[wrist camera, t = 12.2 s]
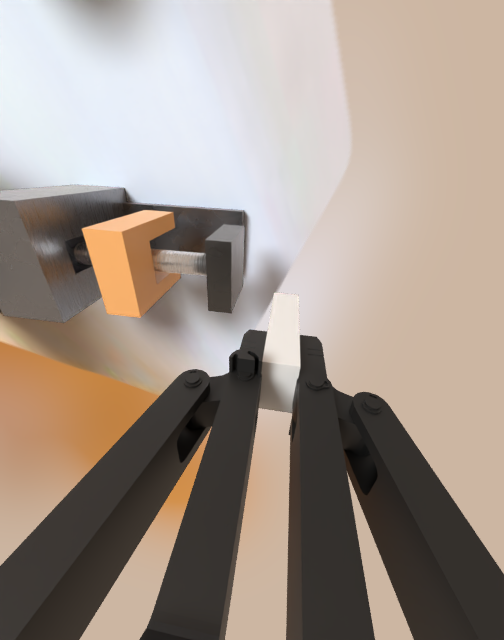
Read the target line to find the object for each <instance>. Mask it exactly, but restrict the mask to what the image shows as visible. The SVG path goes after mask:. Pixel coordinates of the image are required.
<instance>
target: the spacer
mask: <svg viewBox="0 0 504 640" xmlns="http://www.w3.org/2000/svg"><path fill="white" fill-rule="evenodd" d="M173 228H175V222H174V213H173V212H166V211H153V210H143V211H140V212H136V213H133V214H129V215H126V216H123V217H119V218H116V219H112V220H109V221H106V222H102V223H99V224H95V225H92V226H88V227H85V228H82V231H83V235H84V238H85V241H86V245H87V248H88V251H89V255H90V258H91V261H92V265H93V268H94V271H95V275H96V278H97V281H98V285H99V288H100V291H101V295H102V298H103V301H104V305H105V308H106V311H107V314H113V315H122V316H130V317H139V318H141V317H142V316H143V315H144V314H145V313H146V312H147V311H148V310H149V309H150V308H151V307H152V306H153V305H154V304H155V303H156V302H157V301H158V300H159V299H160V298H161V297H162V296H163V295H164V294H165V293H166V292H167V291H168V290H169V289H170V288H171V287H172V286H173V285H174V284H175V283H176V282H177V281H178V280H179V279H180V278H181V276H180V273H169V272H159V271H154V265H153V259H152V253H151V247H150V240H152V239H154V238H156V237H158V236H160V235H162V234H164V233H166V232H168V231H170V230H172V229H173Z"/></svg>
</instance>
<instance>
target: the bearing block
mask: <svg viewBox="0 0 504 640" xmlns="http://www.w3.org/2000/svg"><path fill="white" fill-rule="evenodd" d="M143 210H153V211H166V212H173V213H174V222H175V228H173V229H172V230H170V231H168V232H166V233H164V234H162V235H160V236H158V237H156V238H154V239H152V240H150V247H151V249H162V250H173V251H185V252H196V253H205V239H207V238H208V237H209V236H210V235H211V234H213V233H214V232H215V231H216V230H217V229H219V228H220V227H221V226H222V225H223V224H225V225H238V226H244V210H233V209H219V208H205V207H190V206H176V205H162V204H147V203H133V202H127V199H126V194H125V189H124V188H120V187H104V186H89V185H65V186H52V187H39V188H26V189H13V190H0V309H1V311H2V313H3V315H4V316H11V317H19V318H27V319H36V320H44V321H53V322H61V323H64V322H66V321H67V320H69V319H70V318H72V317H73V316H75V315H76V314H78V313H79V312H81V311H82V310H84V309H85V308H86V307H88V306H89V305H91V304H92V303H94V302H95V301H97V300H98V299H100V298H101V297H102V295H101V291H100V288H99V285H98V281H97V278H96V275H95V271H94V268H93V265H85V264H80V263H79V262H78V261H77V260H76V258H75V256H74V249H75V246H76V245H77V244H78V243H86V241H85V238H84V235H83V231H82V228H85V227H88V226H92V225H95V224H99V223H102V222H106V221H109V220H112V219H116V218H119V217H123V216H126V215H129V214H133V213H136V212H140V211H143Z"/></svg>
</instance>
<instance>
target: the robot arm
mask: <svg viewBox="0 0 504 640" xmlns="http://www.w3.org/2000/svg"><path fill="white" fill-rule="evenodd" d="M298 297H299V295H295V294H286V293H276V292H274V296H273V302H272V307H271V313H270V319H269V325H268V331H267V332H265V331H257V330H249V331H248V332H246V333H245V334H244V337H243V340H242V343H241V347H240V350H236V351H235V352H233V353H232V354H231V355H230V357H229V373H227V374H225V375H222V376H216V377H209V376H208V374H207V373H206V372H204V371H202V370H198V369H193V370H188V371H185V372H183V373H182V374H181V375H179V376H178V377H177V378H176V379H175V380H174V381H173V383H172V384H171V385H170V386H169V387H168V388H167V389H166V390H165V391H164V392H163V393H162V394H161V395H160V396H159V398H158V399H157V400H156V401H155V402H154V403H153V404H152V405H151V406H150V407H149V408H148V409H147V410H146V411H145V413H143V415H142V416H141V417H140V418H139V419H138V420H137V421H136V422H135V423H134V424H133V425H132V426H131V427H130V428H129V429H128V431H127V432H126V433H125V434H124V435H123V436H122V437H121V438H120V439H119V440H118V441H117V442H116V443H115V444H114V445H113V447H112V448H111V449H110V450H109V451H108V452H107V453H106V454H105V455H104V456H103V457H102V458H101V459H100V460H99V461H98V463H97V464H96V465H95V466H94V467H93V468H92V469H91V470H90V471H89V472H88V473H87V474H86V475H85V476H84V477H83V478H82V480H81V481H80V482H79V483H78V484H77V485H76V486H75V487H74V488H73V489H72V490H71V491H70V492H69V493H68V495H67V496H66V497H65V498H64V499H63V500H62V501H61V502H60V503H59V504H58V505H57V506H56V507H55V508H54V509H53V510H52V512H51V513H50V514H49V515H48V516H47V517H46V518H45V519H44V520H43V521H42V522H41V523H40V524H39V526H37V528H36V529H35V530H34V531H33V532H32V533H31V534H30V535H29V536H28V537H27V539H25V540H24V541H23V542H22V544H21V545H20V546H19V547H18V548H17V549H16V550H15V551H14V552H13V553H12V554H11V555H10V556H9V558H7V559H6V561H5V562H4V563H3V564H2V565H1V566H0V640H79V639H80V637H81V636H82V634H83V633H84V631H85V629H86V628H87V626H88V625H89V623H90V621H91V620H92V618H93V617H94V615H95V613H96V612H97V610H98V609H99V607H100V605H101V604H102V602H103V601H104V599H105V597H106V596H107V594H108V592H109V591H110V589H111V588H112V586H113V584H114V583H115V581H116V580H117V578H118V576H119V575H120V573H121V572H122V570H123V568H124V566H125V565H126V563H127V562H128V560H129V559H130V557H131V555H132V554H133V552H134V551H135V549H136V547H137V545H138V544H139V543H140V541H141V539H142V538H143V536H144V535H145V533H146V531H147V530H148V528H149V526H150V525H151V523H152V522H153V520H154V518H155V517H156V515H157V514H158V512H159V510H160V509H161V507H162V505H163V504H164V502H165V501H166V499H167V498H168V496H169V494H170V493H171V491H172V490H173V488H174V486H175V485H176V483H177V481H178V480H179V478H180V477H181V475H182V473H183V472H184V470H185V469H186V467H187V465H188V464H189V462H190V461H191V459H192V457H193V456H194V454H195V452H196V451H197V449H198V448H199V446H200V444H201V443H202V441H203V440H204V438H205V436H206V435H207V433H208V431H209V430H210V428H211V426H212V429H211V432H210V435H209V438H208V441H207V444H206V447H205V450H204V454H203V457H202V460H201V463H200V466H199V469H198V472H197V476H196V479H195V482H194V485H193V488H192V491H191V494H190V498H189V501H188V504H187V507H186V510H185V513H184V516H183V520H182V523H181V526H180V529H179V532H178V535H177V539H176V542H175V545H174V548H173V551H172V554H171V557H170V560H169V563H168V567H167V570H166V573H165V576H164V579H163V582H162V585H161V588H160V592H159V595H158V598H157V601H156V604H155V607H154V610H153V613H152V616H151V619H150V621H149V624H148V626H147V629H146V630H145V632H144V633H143V635H142V637H141V638H140V640H225V634H226V627H227V621H228V614H229V607H230V600H231V594H232V587H233V580H234V573H235V567H236V560H237V553H238V546H239V540H240V533H241V526H242V519H243V512H244V506H245V499H246V492H247V486H248V479H249V472H250V465H251V458H252V452H253V445H254V438H255V432H256V425H257V418H258V417H257V416H258V408H262V409H269V410H275V411H282V412H288V413H292V420H291V425H290V430H289V435H290V436H291V437H290V483H289V532H288V533H289V535H288V579H287V580H288V581H287V629H286V640H375V638H374V631H373V625H372V619H371V613H370V607H369V602H368V595H367V589H366V583H365V577H364V572H363V566H362V559H361V553H360V547H359V541H358V535H357V530H356V524H355V518H354V512H353V506H352V500H351V494H350V488H349V482H348V476H347V472H348V475H349V477H350V480H351V482H352V485H353V488H354V490H355V492H356V495H357V497H358V500H359V502H360V505H361V508H362V510H363V513H364V515H365V518H366V520H367V523H368V525H369V528H370V530H371V533H372V535H373V538H374V540H375V543H376V545H377V548H378V550H379V553H380V555H381V558H382V560H383V563H384V565H385V568H386V570H387V573H388V575H389V578H390V580H391V583H392V585H393V588H394V591H395V593H396V595H397V598H398V601H399V603H400V606H401V608H402V611H403V613H404V616H405V618H406V621H407V623H408V626H409V628H410V631H411V633H412V636H413V638H414V640H504V574H503V573H502V571H501V569H500V568H499V566H498V565H497V564H496V562H495V561H494V559H493V558H492V556H491V555H490V553H489V552H488V550H487V549H486V547H485V546H484V545H483V543H482V542H481V540H480V539H479V537H478V536H477V535H476V533H475V531H474V530H473V528H472V527H471V526H470V524H469V523H468V521H467V519H466V518H465V517H464V515H463V514H462V512H461V511H460V509H459V508H458V506H457V505H456V503H455V502H454V500H453V499H452V498H451V496H450V495H449V493H448V492H447V490H446V489H445V487H444V486H443V485H442V483H441V482H440V480H439V478H438V477H437V475H436V474H435V472H434V471H433V470H432V468H431V467H430V465H429V464H428V462H427V461H426V459H425V458H424V456H423V455H422V453H421V452H420V450H419V449H418V448H417V446H416V445H415V443H414V442H413V440H412V439H411V437H410V436H409V434H408V433H407V431H406V430H405V428H404V427H403V425H402V424H401V423H400V421H399V420H398V418H397V417H396V415H395V414H394V412H393V411H392V409H391V408H390V406H389V405H388V404H387V403H386V402H385V401H384V400H383V399H382V398H380V397H379V396H377V395H375V394H372V393H369V392H360V393H357V394H356V395H355V396H354V397H352V396H349V395H347V394H344V393H342V392H340V391H338V390H336V389H335V388H334V387H333V386H332V384H331V382H330V381H329V380H328V379H327V374H326V369H325V362H324V357H323V356H324V355H323V348H322V343H321V342H320V340H319V339H318V338H317V337H312V336H303V335H300V331H299V298H298ZM1 313H2V311H1V309H0V314H1Z"/></svg>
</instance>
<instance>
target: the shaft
mask: <svg viewBox="0 0 504 640" xmlns="http://www.w3.org/2000/svg"><path fill="white" fill-rule="evenodd" d="M244 230H245V226H238V225H225V224H223V225H222V226H221V227H220V228H219V229H217V230H216V231H215V232H214V233H213V234H211V235H210V236H209V237H208V238H207V239H205V253H196V252H185V251H173V250H162V249H151V253H152V259H153V265H154V271H159V272H169V273H180V274H190V275H201V276H207V291H208V310H209V311H215V312H225V313H232V310H233V308H234V306H235V303H236V301H237V298H238V296H239V294H240V291H241V289H242V286H243V265H244ZM74 256H75V258H76V260H77V261H78V262H79V263H80V264H85V265H92V261H91V258H90V255H89V251H88V248H87V245H86V243H78V244H77V245H76V246H75V249H74Z"/></svg>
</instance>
